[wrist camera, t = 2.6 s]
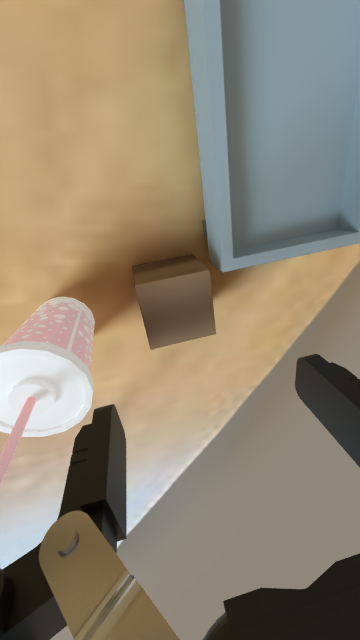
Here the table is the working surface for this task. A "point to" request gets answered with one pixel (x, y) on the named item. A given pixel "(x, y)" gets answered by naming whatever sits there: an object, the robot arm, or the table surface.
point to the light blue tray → (276, 126)
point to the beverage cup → (46, 374)
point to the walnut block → (175, 300)
